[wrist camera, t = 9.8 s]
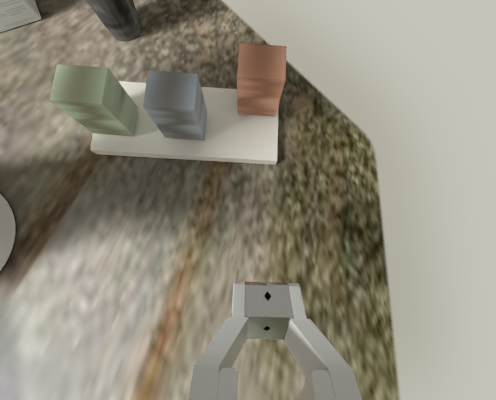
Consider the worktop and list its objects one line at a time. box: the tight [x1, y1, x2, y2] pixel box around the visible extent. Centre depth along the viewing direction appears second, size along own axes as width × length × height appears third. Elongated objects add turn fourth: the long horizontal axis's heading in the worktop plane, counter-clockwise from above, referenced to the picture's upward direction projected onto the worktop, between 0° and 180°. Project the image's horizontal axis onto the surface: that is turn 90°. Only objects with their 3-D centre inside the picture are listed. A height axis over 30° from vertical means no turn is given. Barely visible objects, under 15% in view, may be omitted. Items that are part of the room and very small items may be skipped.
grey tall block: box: [143, 71, 207, 140], centre depth 26 cm, size 5×4×7 cm
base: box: [90, 81, 279, 165], centre depth 31 cm, size 24×10×2 cm, turn 87°
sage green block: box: [49, 64, 138, 136], centre depth 26 cm, size 5×4×7 cm
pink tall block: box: [237, 43, 286, 116], centre depth 27 cm, size 5×4×7 cm
